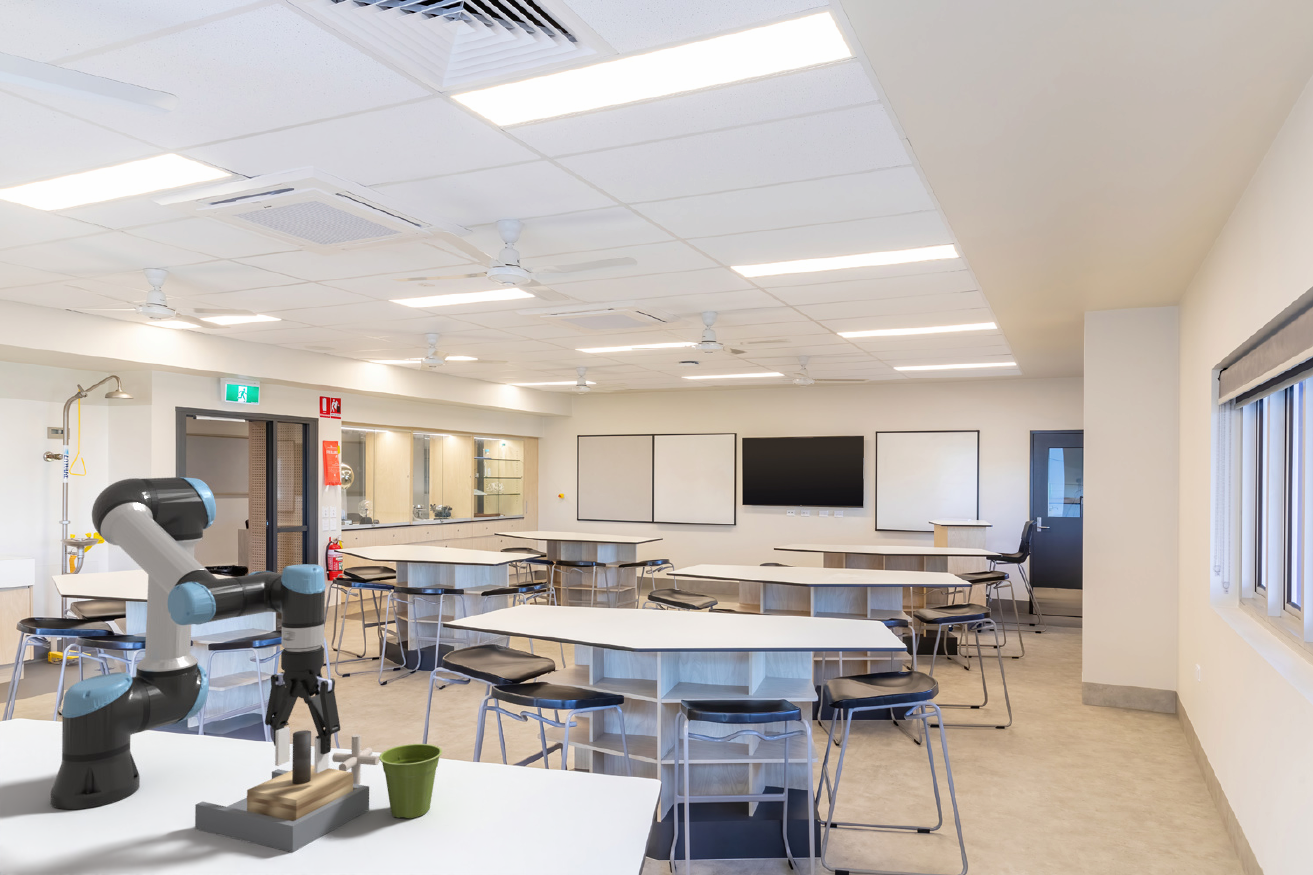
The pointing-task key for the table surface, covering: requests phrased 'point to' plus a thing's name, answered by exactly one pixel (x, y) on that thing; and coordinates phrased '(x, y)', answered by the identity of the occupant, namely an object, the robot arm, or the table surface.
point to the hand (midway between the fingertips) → (301, 766)
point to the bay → (280, 820)
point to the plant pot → (410, 777)
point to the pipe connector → (355, 758)
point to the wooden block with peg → (299, 786)
